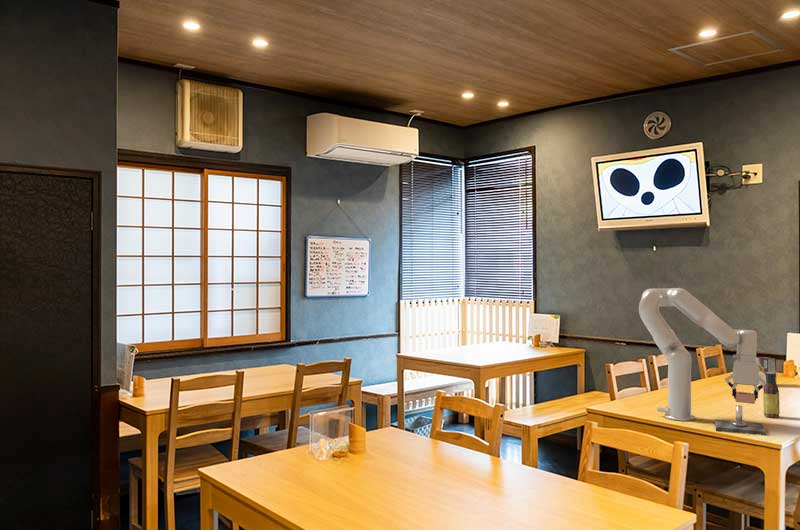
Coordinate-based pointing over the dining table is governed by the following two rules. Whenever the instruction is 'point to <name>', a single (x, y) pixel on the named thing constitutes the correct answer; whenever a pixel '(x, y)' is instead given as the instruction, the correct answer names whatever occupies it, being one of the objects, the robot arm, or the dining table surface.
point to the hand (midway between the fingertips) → (744, 398)
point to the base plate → (750, 429)
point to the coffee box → (766, 366)
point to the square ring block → (745, 397)
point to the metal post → (739, 418)
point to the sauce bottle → (771, 397)
